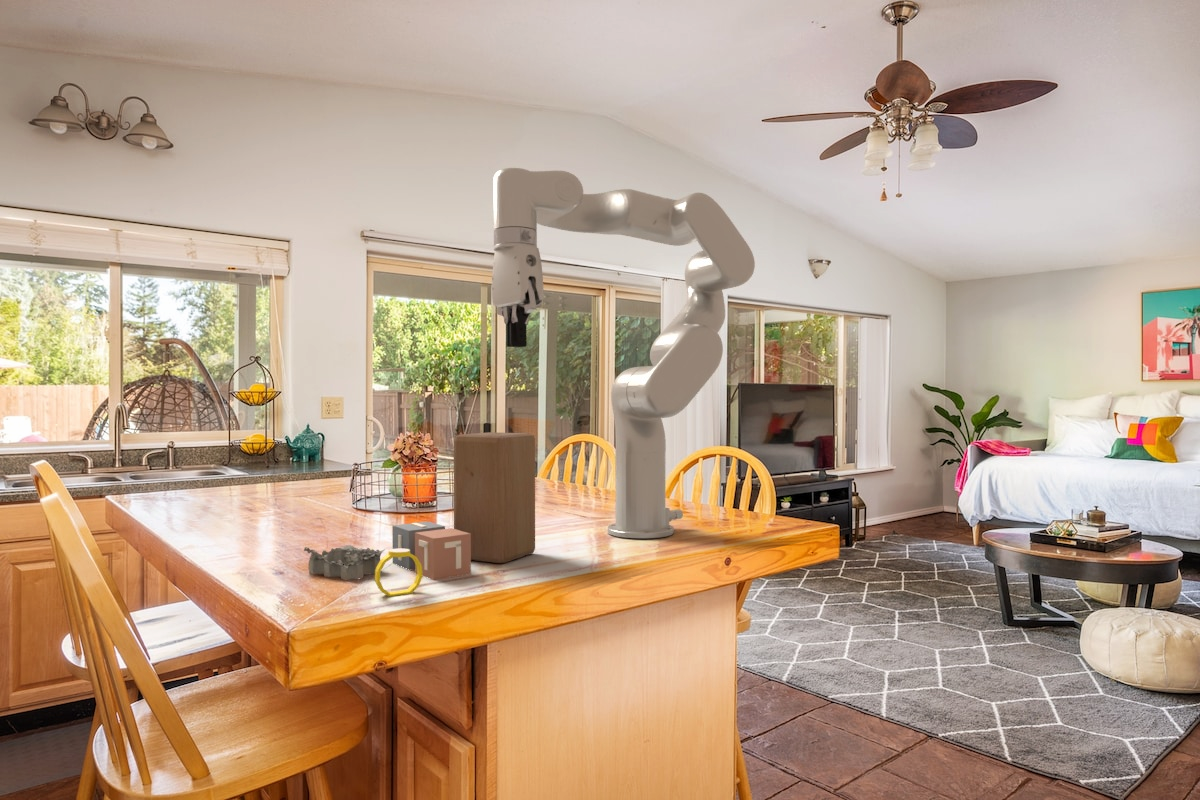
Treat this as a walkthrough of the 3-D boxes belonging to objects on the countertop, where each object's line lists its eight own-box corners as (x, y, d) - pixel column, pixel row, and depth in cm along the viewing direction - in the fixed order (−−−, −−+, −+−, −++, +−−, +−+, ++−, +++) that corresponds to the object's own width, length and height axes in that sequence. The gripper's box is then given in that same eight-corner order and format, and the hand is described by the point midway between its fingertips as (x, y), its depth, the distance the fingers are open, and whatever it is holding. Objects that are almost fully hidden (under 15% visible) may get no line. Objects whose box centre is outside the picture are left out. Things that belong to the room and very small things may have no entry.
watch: (416, 591, 102) (419, 547, 102) (423, 596, 99) (426, 550, 99) (372, 594, 99) (375, 548, 99) (377, 599, 96) (380, 552, 96)
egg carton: (300, 574, 111) (300, 547, 111) (341, 564, 118) (341, 538, 118) (348, 583, 106) (348, 554, 106) (389, 572, 112) (389, 545, 112)
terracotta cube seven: (451, 567, 115) (451, 528, 115) (471, 574, 110) (471, 533, 110) (413, 573, 111) (413, 532, 111) (433, 581, 106) (432, 538, 106)
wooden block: (451, 559, 120) (451, 434, 120) (488, 548, 129) (488, 431, 129) (502, 565, 115) (502, 436, 115) (537, 553, 124) (537, 433, 124)
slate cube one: (427, 558, 121) (427, 520, 121) (445, 565, 116) (445, 525, 116) (391, 563, 117) (391, 524, 117) (408, 570, 112) (408, 529, 112)
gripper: (558, 237, 128) (559, 345, 128) (510, 250, 139) (511, 349, 140) (521, 232, 123) (522, 343, 123) (474, 246, 135) (475, 348, 135)
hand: (516, 346), depth 131 cm, fingers closed
